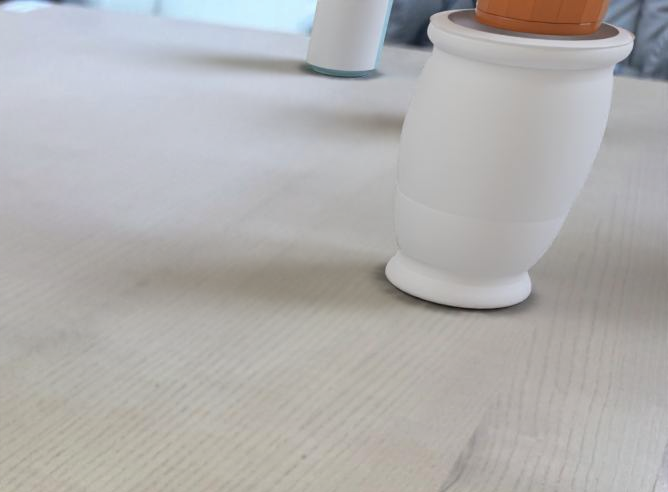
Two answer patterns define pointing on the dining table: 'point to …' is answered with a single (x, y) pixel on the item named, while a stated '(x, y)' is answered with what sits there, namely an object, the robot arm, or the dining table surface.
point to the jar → (495, 155)
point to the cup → (543, 16)
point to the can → (348, 36)
